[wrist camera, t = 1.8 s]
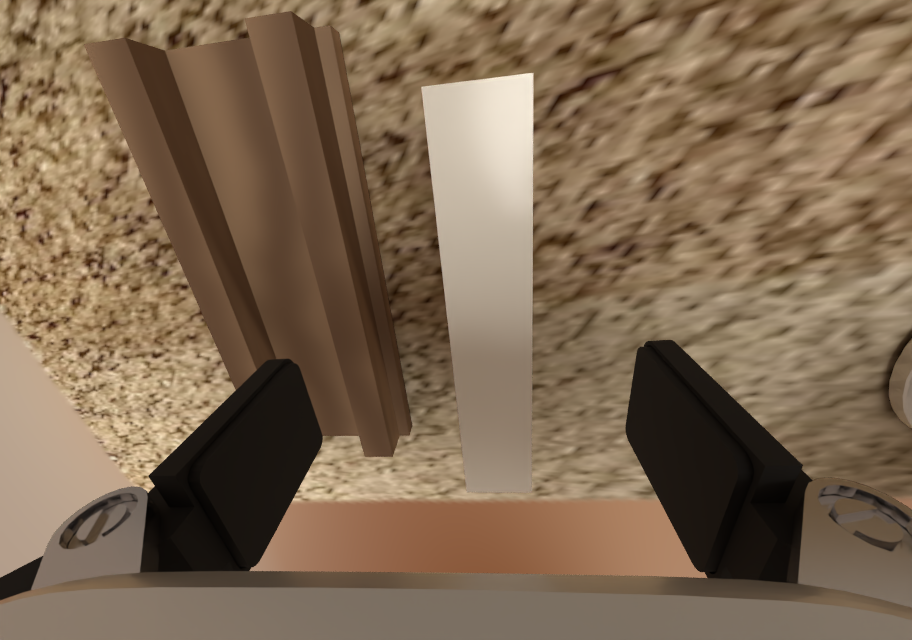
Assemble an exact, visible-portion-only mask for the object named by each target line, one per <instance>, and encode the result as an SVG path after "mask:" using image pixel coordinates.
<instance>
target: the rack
mask: <svg viewBox="0 0 912 640" xmlns="http://www.w3.org/2000/svg"><path fill="white" fill-rule="evenodd" d="M245 22H246V25H247V29H248V33H249V36H250V38H245V39H238V40H232V41H225V42H218V43H212V44H205V45H199V46H192V47H186V48H179V49H173V50H166V51H164V50H161V49H158V48H155V47H152V46H149V45H145V44H142V43H139V42H136V41H133V40H130V39H127V38H121V39H115V40H108V41H102V42H96V43H90V44H84V46H85V48H86V51H87V53H88V55H89V57H90V60H91V62H92V64H93V66H94V69H95V71H96V73H97V76H98V78H99V80H100V82H101V85H102V87H103V89H104V91H105V94H106V96H107V98H108V101H109V103H110V105H111V107H112V110H113V112H114V114H115V116H116V119H117V121H118V123H119V126H120V128H121V130H122V132H123V135H124V137H125V139H126V141H127V144H128V146H129V148H130V151H131V153H132V155H133V157H134V160H135V162H136V164H137V166H138V169H139V171H140V173H141V176H142V178H143V180H144V182H145V185H146V187H147V189H148V191H149V194H150V196H151V198H152V201H153V203H154V205H155V207H156V210H157V212H158V214H159V216H160V219H161V221H162V223H163V226H164V228H165V230H166V232H167V235H168V237H169V239H170V241H171V244H172V246H173V248H174V251H175V253H176V255H177V257H178V260H179V262H180V264H181V266H182V269H183V271H184V273H185V276H186V278H187V280H188V282H189V285H190V287H191V289H192V291H193V294H194V296H195V298H196V301H197V303H198V305H199V307H200V310H201V312H202V314H203V316H204V319H205V321H206V323H207V326H208V328H209V330H210V332H211V335H212V337H213V339H214V341H215V344H216V346H217V348H218V351H219V353H220V355H221V357H222V360H223V362H224V364H225V366H226V369H227V371H228V373H229V376H230V378H231V380H232V382H233V385H234V387H235V389H236V390H237V389H238V388H239V387H240V386H241V385H242V384H243V383H244V382H245V381H246V380H247V379H248V378H249V377H250V376H251V375H252V374H253V373H254V372H255V371H256V370H257V369H258V368H259V367H260V366H261V365H262V364H263V363H264V362H266V361H267V360H270V359H291V360H292V361H293V362H294V363H296V364H298V366H299V367H300V370H301V373H302V376H303V379H304V382H305V385H306V388H307V391H308V394H309V397H310V400H311V403H312V406H313V408H314V411H315V414H316V417H317V420H318V423H319V426H320V429H321V432H322V436H359V437H360V441H361V444H362V448H363V452H364V455H365V457H393V454H394V451H395V448H396V445H397V442H398V439H399V436H400V435H410V432H411V428H412V422H411V417H410V412H409V406H408V401H407V396H406V390H405V385H404V379H403V374H402V369H401V363H400V358H399V353H398V347H397V342H396V337H395V331H394V326H393V320H392V315H391V310H390V304H389V299H388V294H387V288H386V283H385V278H384V272H383V267H382V261H381V256H380V251H379V245H378V240H377V235H376V229H375V224H374V219H373V213H372V208H371V202H370V197H369V192H368V186H367V181H366V176H365V170H364V165H363V160H362V154H361V149H360V143H359V138H358V133H357V127H356V122H355V117H354V111H353V106H352V101H351V95H350V90H349V84H348V79H347V74H346V68H345V63H344V58H343V52H342V47H341V42H340V36H339V32H338V31H336V30H335V29H334V28H333V27H331V26H323V27H317V28H314V27H312V26H311V25H309V24H308V23H307V22H305V21H304V20H303V19H301V18H300V17H298V16H297V15H296V14H294V13H293V12H291V11H289V12H283V13H277V14H271V15H264V16H258V17H252V18H246V19H245Z"/></svg>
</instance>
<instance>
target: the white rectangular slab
mask: <svg viewBox="0 0 912 640" xmlns="http://www.w3.org/2000/svg"><path fill="white" fill-rule="evenodd" d="M421 88H422V97H423V105H424V114H425V123H426V132H427V141H428V150H429V159H430V168H431V177H432V186H433V195H434V204H435V213H436V222H437V231H438V240H439V248H440V257H441V266H442V275H443V284H444V293H445V302H446V311H447V320H448V329H449V338H450V347H451V356H452V365H453V374H454V383H455V391H456V400H457V409H458V418H459V427H460V436H461V445H462V454H463V463H464V472H465V481H466V490H467V492H498V493H532V313H533V73H529V74H521V75H513V76H505V77H497V78H489V79H481V80H473V81H465V82H457V83H449V84H441V85H433V86H425V87H421Z"/></svg>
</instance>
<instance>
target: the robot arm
mask: <svg viewBox="0 0 912 640" xmlns="http://www.w3.org/2000/svg"><path fill="white" fill-rule="evenodd" d="M889 399H890V402H891V406H892V409H893V411H894V412H895V413H896V415H897V416H898V418H899V419H900V420H901V421H902V422H903V423H905V424H906V425H907V426H909V427H910V428H911V429H912V339H911V340H910V341H909V342H908V344H907V345H906V346H905V348H904V349H903V351H902V353H901V354H900V356H899V358H898V360H897V361H896V363H895V366H894V369H893V372H892V375H891V378H890V381H889ZM626 435H627V438H628V441H629V443H630V444H631V446H632V448H633V450H634V452H635V454H636V456H637V458H638V460H639V462H640V464H641V466H642V468H643V469H644V471H645V473H646V475H647V477H648V479H649V481H650V483H651V485H652V487H653V489H654V491H655V492H656V494H657V496H658V498H659V500H660V502H661V504H662V506H663V508H664V510H665V512H666V514H667V516H668V517H669V519H670V521H671V523H672V525H673V527H674V529H675V531H676V533H677V535H678V537H679V539H680V540H681V542H682V544H683V546H684V548H685V550H686V552H687V554H688V556H689V558H690V560H691V562H692V563H693V565H694V567H695V568H696V569H697V570H698V571H700V572H705V574H706V575H707V578H688V577H659V576H658V577H657V576H612V575H610V576H609V575H607V576H606V575H555V574H554V575H553V574H550V575H549V574H493V573H490V574H489V573H409V572H408V573H407V572H406V573H405V572H289V571H288V572H287V571H285V572H283V571H279V572H277V571H249V570H250V569H251V567H254V566H256V564H257V563H258V562H259V561H260V559H261V557H262V556H263V554H264V552H265V550H266V548H267V546H268V544H269V542H270V541H271V539H272V537H273V535H274V533H275V531H276V530H277V528H278V526H279V524H280V522H281V520H282V518H283V516H284V515H285V513H286V511H287V509H288V507H289V505H290V503H291V502H292V500H293V498H294V496H295V494H296V492H297V490H298V489H299V487H300V485H301V483H302V481H303V479H304V477H305V476H306V474H307V472H308V470H309V468H310V466H311V464H312V463H313V461H314V459H315V457H316V455H317V453H318V451H319V450H320V448H321V445H322V439H323V437H322V432H321V429H320V426H319V423H318V420H317V417H316V414H315V411H314V408H313V406H312V403H311V400H310V397H309V394H308V391H307V388H306V385H305V382H304V379H303V376H302V373H301V370H300V367H299V366H298V364H296V363H294V362H293V361H292V360H291V359H270V360H267V361H266V362H264V363H263V364H262V365H261V366H260V367H259V368H258V369H257V370H256V371H255V372H254V373H253V374H252V375H251V376H250V377H249V378H248V379H247V380H246V381H245V382H244V383H243V384H242V385H241V386H240V387H239V388H238V389H237V390H236V391H235V392H234V393H233V394H232V395H231V396H230V397H229V398H228V399H227V400H226V401H225V402H224V403H223V404H222V405H220V406H219V407H218V408H217V409H216V410H215V411H214V412H213V413H212V414H211V415H210V416H209V417H208V418H207V419H206V420H205V421H204V422H203V423H202V424H201V425H200V426H199V427H198V428H197V429H196V430H195V431H194V432H193V433H192V434H191V435H190V436H189V437H188V438H187V439H186V440H185V441H184V442H183V443H182V444H181V445H180V446H179V447H178V448H177V449H175V450H174V451H173V452H172V453H171V454H170V455H169V456H168V457H167V458H166V459H165V460H164V461H163V462H162V463H161V464H160V465H159V466H158V467H157V468H156V469H155V470H154V471H153V472H152V473H151V474H150V475H149V478H150V479H151V481H152V482H153V484H154V485H155V487H154V488H153V489H152V490H151V491H150V492H149V493H147V491H146V490H144V489H143V488H141V487H127V488H122V489H118V490H116V491H113V492H110V493H108V494H105V495H103V496H101V497H99V498H97V499H96V500H93V501H92V502H90V503H89V504H87V505H86V506H84V507H82V508H81V509H79V510H78V511H77V512H75V513H74V514H73V515H72V516H71V517H69V518H68V519H67V520H66V521H65V522H64V523H63V524H62V525H61V526H60V527H59V528H58V529H57V530H56V531H55V533H54V534H53V536H52V538H51V539H50V541H49V543H48V545H47V548H46V550H45V553H44V556H42V557H40V558H38V559H36V560H34V561H32V562H30V563H28V564H26V565H24V566H22V567H20V568H18V569H17V570H14V571H13V572H11V573H9V574H7V575H5V576H3V577H1V578H0V640H912V510H911V509H910V508H908V507H907V506H906V505H904V504H902V503H901V502H899V501H897V500H896V499H894V498H892V497H890V496H889V495H887V494H885V493H882V492H880V491H878V490H875V489H873V488H871V487H869V486H866V485H863V484H860V483H856V482H853V481H850V480H845V479H838V478H831V477H830V478H818V479H815V480H814V481H813V480H812V479H811V478H810V477H809V476H808V475H807V474H806V473H805V472H803V471H802V470H801V468H802V466H803V465H802V464H801V463H800V462H799V461H798V460H797V459H796V458H795V457H794V456H793V455H792V454H790V453H789V452H788V451H787V450H786V449H785V448H784V447H783V446H782V445H781V444H780V443H779V442H778V441H777V440H776V439H775V438H774V437H773V436H772V435H771V434H770V433H769V432H768V431H767V430H766V429H765V428H763V427H762V426H761V425H760V424H759V423H758V422H757V421H756V420H755V419H754V418H753V417H752V416H751V415H750V414H749V413H748V412H747V411H746V410H745V409H744V408H743V407H742V406H741V405H740V404H739V403H738V402H737V401H735V400H734V399H733V398H732V397H731V396H730V395H729V394H728V393H727V392H726V391H725V390H724V389H723V388H722V387H721V386H720V385H719V384H718V383H717V382H716V381H715V380H714V379H713V378H712V377H711V376H710V375H709V374H707V373H706V372H705V371H704V370H703V369H702V368H701V367H700V366H699V365H698V364H697V363H696V362H695V361H694V360H693V359H692V358H691V357H690V356H689V355H688V354H687V353H686V352H685V351H684V350H683V349H682V348H681V347H679V346H678V345H677V344H676V343H675V342H674V341H672V340H660V341H647V342H646V343H645V345H644V347H639V348H638V351H637V355H636V362H635V368H634V375H633V381H632V388H631V394H630V401H629V407H628V414H627V420H626Z"/></svg>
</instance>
